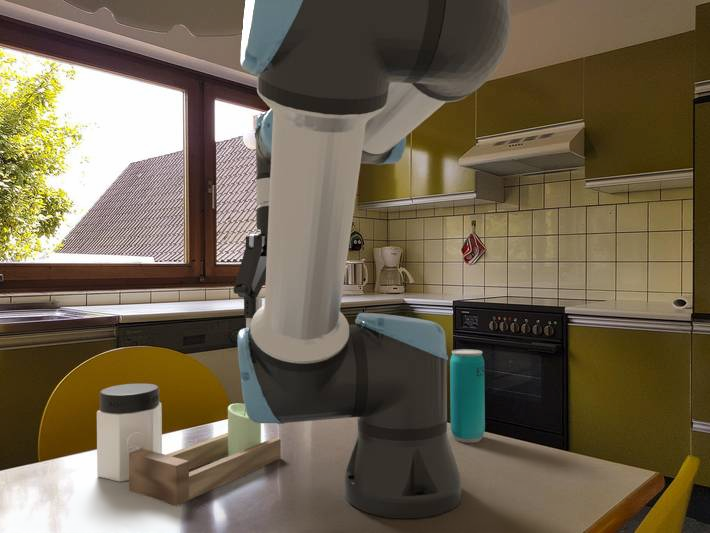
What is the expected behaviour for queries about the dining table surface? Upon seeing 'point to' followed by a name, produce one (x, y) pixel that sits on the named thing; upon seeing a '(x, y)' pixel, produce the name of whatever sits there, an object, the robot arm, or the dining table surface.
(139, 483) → the channel
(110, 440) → the jar
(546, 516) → the dining table surface
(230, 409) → the candle
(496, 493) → the dining table surface
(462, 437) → the beverage can
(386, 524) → the dining table surface
